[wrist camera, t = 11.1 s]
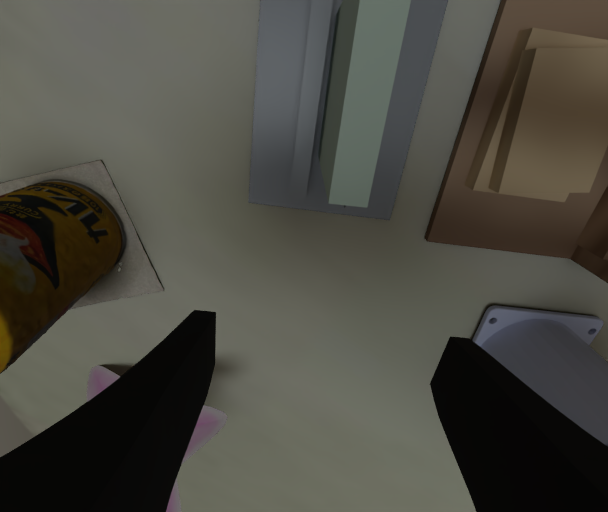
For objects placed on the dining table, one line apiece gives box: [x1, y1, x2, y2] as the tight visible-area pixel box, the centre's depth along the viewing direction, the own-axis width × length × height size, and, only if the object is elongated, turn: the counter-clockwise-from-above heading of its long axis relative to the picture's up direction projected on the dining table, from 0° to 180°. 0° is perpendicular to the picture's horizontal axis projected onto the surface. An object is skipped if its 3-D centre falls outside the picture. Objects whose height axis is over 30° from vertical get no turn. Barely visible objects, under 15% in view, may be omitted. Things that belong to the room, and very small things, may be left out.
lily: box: [87, 365, 228, 512], centre depth 23 cm, size 12×12×10 cm
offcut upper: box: [488, 47, 608, 193], centre depth 15 cm, size 6×4×1 cm
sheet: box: [318, 0, 411, 208], centre depth 12 cm, size 6×1×8 cm, turn 173°
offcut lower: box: [465, 28, 608, 202], centre depth 16 cm, size 7×5×1 cm
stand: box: [249, 0, 448, 220], centre depth 15 cm, size 12×8×2 cm, turn 172°
